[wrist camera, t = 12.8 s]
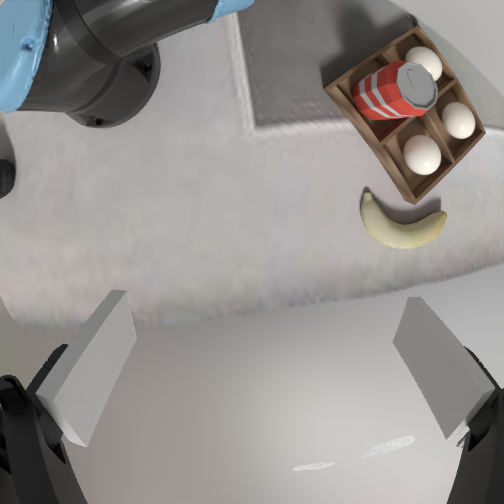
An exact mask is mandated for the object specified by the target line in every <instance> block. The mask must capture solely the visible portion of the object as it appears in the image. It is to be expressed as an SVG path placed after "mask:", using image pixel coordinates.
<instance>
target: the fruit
mask: <svg viewBox="0 0 504 504" xmlns="http://www.w3.org/2000/svg"><path fill="white" fill-rule="evenodd" d="M360 214H361V218H362V221H363V223H364V225H365V227H366V229H367V230H368V231H369V233H370V234H371V235H373V236H374V237H375V238H376V239H377V240H379V241H380V242H382V243H384V244H385V245H388V246H390V247H394V248H413V247H417V246H421V245H423V244H425V243H427V242H429V241H430V240H431V239H433V238H434V237H436V236H437V235H438V234H439V233H440V231H441V230H442V228H443V226H444V224H445V221H446V218H447V215H446V213H445V212H444V211H438V212H435V213H433V214H431V215H429V216H427V217H426V218H424V219H422V220H420V221H418V222H416V223H413V224H408V225H402V224H398V223H395V222H393V221H392V220H390V219H389V218H388V217H387V216H386V215H385V214H384V212H383V211H382V210H381V208H380V207H379V205H378V204H377V203H376V202H375V200H374V199H373V197H372V194H371V192H365V193H364V194H363V200H362V204H361V209H360Z"/></svg>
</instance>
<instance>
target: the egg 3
mask: <svg viewBox="0 0 504 504" xmlns="http://www.w3.org/2000/svg"><path fill="white" fill-rule="evenodd" d="M442 123H443V126H444V128H445V129H446V131H447V132H448V133H449V134H450V135H452V136H453V137H455V138H459V139H464V138H467V137H469V136H470V135H471V134H472V133H473V131H474V129H475V119H474V116H473V114H472V112H471V110H470V109H469V108H468V107H467V106H465V105H464V104H461V103H458V102H453V103H450V104H448V105H447V106H446V107H445V108H444V109H443V112H442Z"/></svg>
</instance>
